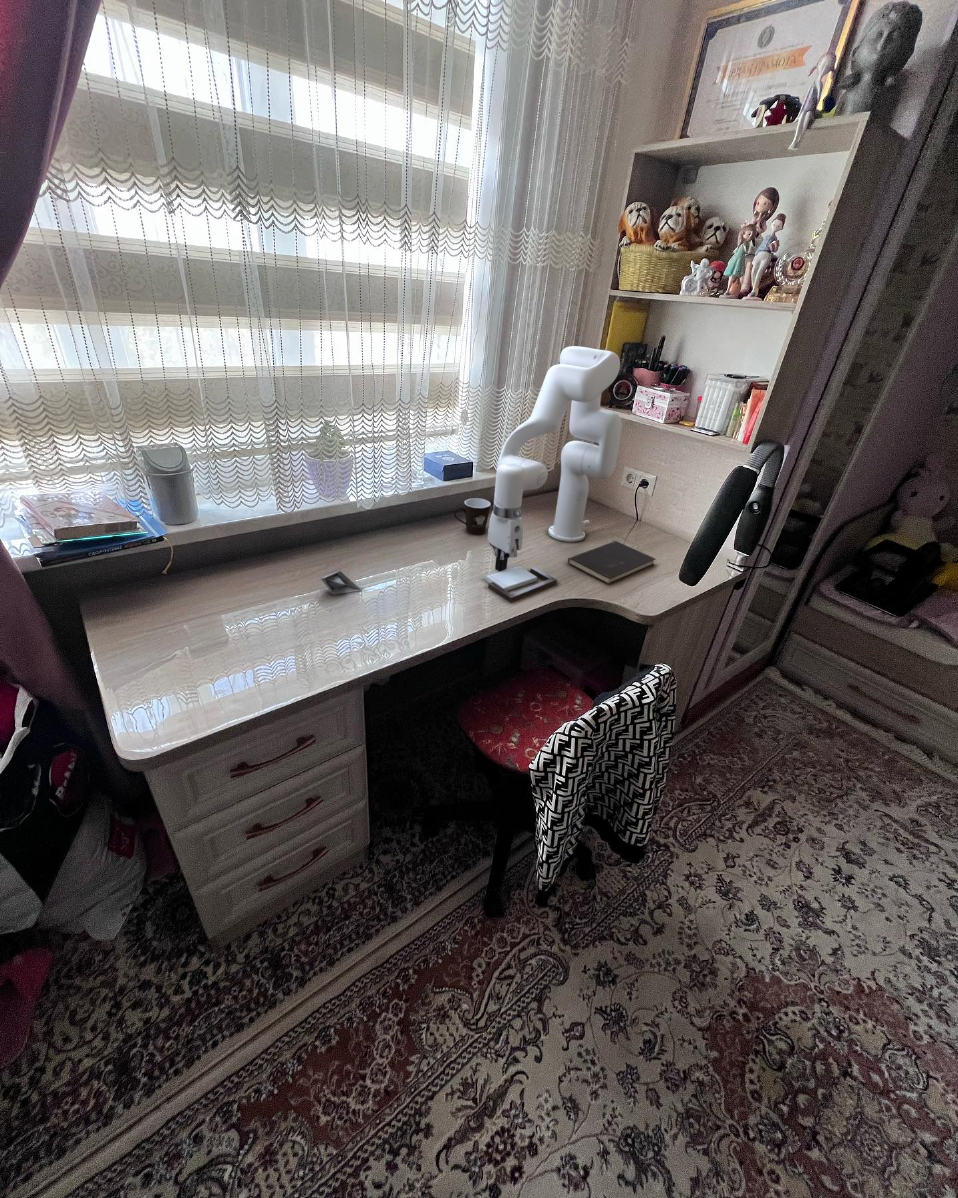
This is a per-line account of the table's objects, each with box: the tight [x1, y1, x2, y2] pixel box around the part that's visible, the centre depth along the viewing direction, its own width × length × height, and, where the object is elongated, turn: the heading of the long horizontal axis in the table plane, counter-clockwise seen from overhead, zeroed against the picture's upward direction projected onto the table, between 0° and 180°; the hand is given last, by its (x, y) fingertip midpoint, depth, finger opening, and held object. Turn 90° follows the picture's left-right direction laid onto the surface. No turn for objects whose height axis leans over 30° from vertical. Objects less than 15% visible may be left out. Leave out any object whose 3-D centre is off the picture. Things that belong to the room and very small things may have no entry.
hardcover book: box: [567, 540, 656, 585], centre depth 164 cm, size 16×23×2 cm
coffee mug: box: [453, 497, 492, 536], centre depth 177 cm, size 12×9×10 cm
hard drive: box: [484, 565, 538, 592], centre depth 151 cm, size 2×8×12 cm
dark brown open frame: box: [487, 566, 558, 603], centre depth 149 cm, size 18×9×2 cm, turn 130°
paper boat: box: [320, 570, 362, 595], centre depth 138 cm, size 12×6×9 cm
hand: (500, 569), depth 154 cm, fingers closed
